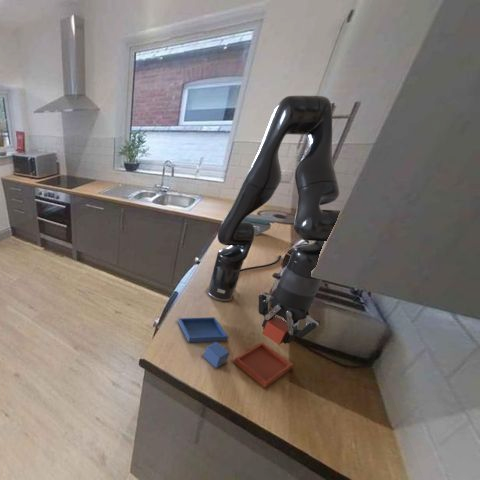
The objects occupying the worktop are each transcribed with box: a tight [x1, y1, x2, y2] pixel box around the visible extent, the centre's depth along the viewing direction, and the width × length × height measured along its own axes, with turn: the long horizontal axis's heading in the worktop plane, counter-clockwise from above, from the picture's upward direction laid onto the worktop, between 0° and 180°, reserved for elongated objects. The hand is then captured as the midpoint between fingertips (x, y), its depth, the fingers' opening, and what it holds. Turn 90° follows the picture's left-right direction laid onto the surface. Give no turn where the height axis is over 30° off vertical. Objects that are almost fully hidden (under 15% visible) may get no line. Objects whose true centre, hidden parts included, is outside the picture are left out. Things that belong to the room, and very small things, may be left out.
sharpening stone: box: [226, 210, 276, 236], centre depth 164 cm, size 25×8×11 cm, turn 64°
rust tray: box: [233, 342, 294, 389], centre depth 77 cm, size 13×9×2 cm
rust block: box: [261, 316, 288, 346], centre depth 70 cm, size 4×4×4 cm
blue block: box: [203, 341, 230, 369], centre depth 78 cm, size 4×4×4 cm
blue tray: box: [177, 316, 229, 343], centre depth 89 cm, size 13×9×2 cm
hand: (275, 335), depth 71 cm, fingers closed on rust block, 4 cm apart
